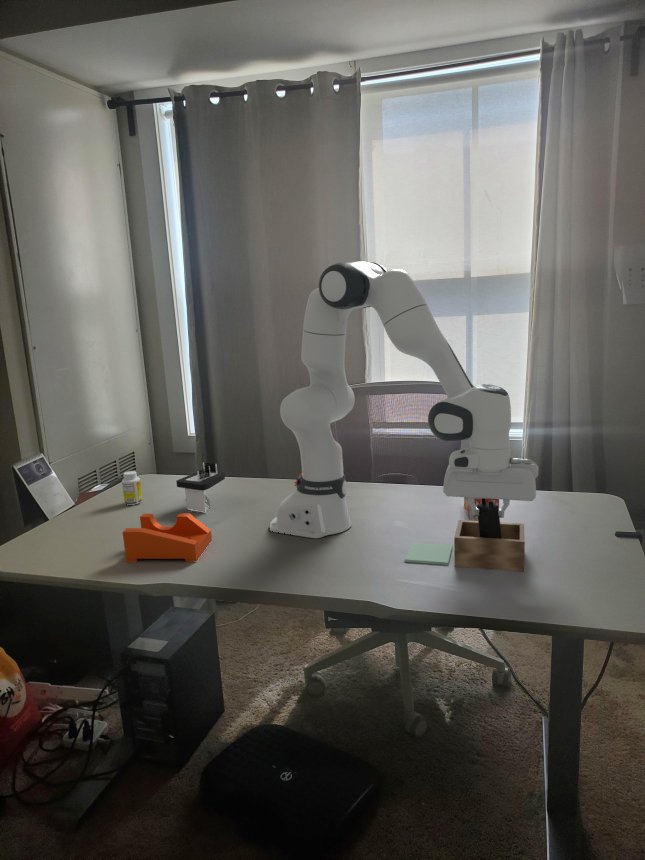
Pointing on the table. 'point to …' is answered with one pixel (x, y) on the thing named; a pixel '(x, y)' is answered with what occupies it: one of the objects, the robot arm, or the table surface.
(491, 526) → the walkie-talkie
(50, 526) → the table surface
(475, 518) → the stack of blocks
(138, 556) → the orange cradle stand
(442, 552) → the place mat
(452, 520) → the table surface
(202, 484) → the black-topped pedestal
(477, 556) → the access box
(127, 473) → the supplement bottle
